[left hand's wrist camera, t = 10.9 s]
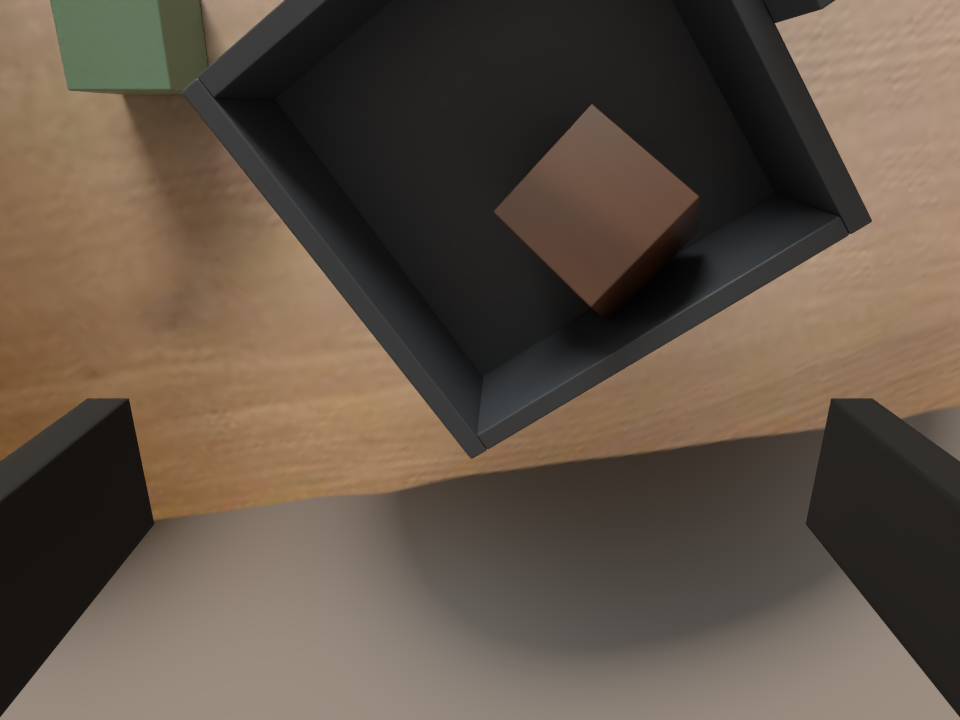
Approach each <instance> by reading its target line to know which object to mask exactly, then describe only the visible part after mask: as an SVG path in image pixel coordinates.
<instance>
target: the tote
mask: <svg viewBox="0 0 960 720" xmlns="http://www.w3.org/2000/svg"><path fill="white" fill-rule="evenodd" d="M833 1H835V0H284V1H283V2H282V3H281V4H280V5H278V6H277V7H276V8H275V9H274V10H273V11H272V12H270V13H269V14H268V15H267V16H266V17H265V18H264V19H263V20H261V21H260V22H259V23H258V24H257V25H256V26H255V27H253V28H252V29H251V30H250V31H249V32H248V33H247V34H245V35H244V36H243V37H242V38H241V39H240V40H239V41H237V42H236V43H235V44H234V45H233V46H232V47H231V48H229V49H228V50H227V51H226V52H225V53H224V54H223V55H222V56H220V57H219V58H218V59H217V60H216V61H215V62H214V63H212V64H211V65H210V66H209V67H208V68H207V69H206V70H204V71H203V72H202V73H201V74H200V75H199V76H198V77H199V78H196V79H195V80H194V81H193V82H191V83H190V84H189V85H188V86H187V87H186V88H185V89H183V91H182V93H183V95H184V96H185V97H186V99H187V100H188V101H189V103H190V104H191V105H192V106H193V108H194V109H195V110H196V111H197V113H198V114H199V115H200V116H201V118H202V119H203V120H204V122H205V123H206V124H207V125H208V127H209V128H210V129H211V130H212V132H213V133H214V134H215V135H216V137H217V138H218V139H219V141H220V142H221V143H222V144H223V146H224V147H225V148H226V149H227V151H228V152H229V153H230V154H231V156H232V157H233V158H234V160H235V161H236V162H237V163H238V165H239V166H240V167H241V168H242V170H243V171H244V172H245V173H246V175H247V176H248V177H249V179H250V180H251V181H252V182H253V184H254V185H255V186H256V187H257V189H258V190H259V191H260V192H261V194H262V195H263V196H264V197H265V199H266V200H267V201H268V203H269V204H270V205H271V206H272V208H273V209H274V210H275V211H276V213H277V214H278V215H279V216H280V218H281V219H282V220H283V222H284V223H285V224H286V225H287V227H288V228H289V229H290V230H291V232H292V233H293V234H294V235H295V237H296V238H297V239H298V241H299V242H300V243H301V244H302V246H303V247H304V248H305V249H306V251H307V252H308V253H309V254H310V256H311V257H312V258H313V260H314V261H315V262H316V263H317V265H318V266H319V267H320V268H321V270H322V271H323V272H324V273H325V275H326V276H327V277H328V279H329V280H330V281H331V282H332V284H333V285H334V286H335V287H336V289H337V290H338V291H339V292H340V294H341V295H342V296H343V297H344V299H345V300H346V301H347V303H348V304H349V305H350V306H351V308H352V309H353V310H354V311H355V313H356V314H357V315H358V316H359V318H360V319H361V320H362V322H363V323H364V324H365V325H366V327H367V328H368V329H369V330H370V332H371V333H372V334H373V335H374V337H375V338H376V339H377V341H378V342H379V343H380V344H381V346H382V347H383V348H384V349H385V351H386V352H387V353H388V354H389V356H390V357H391V358H392V360H393V361H394V362H395V363H396V365H397V366H398V367H399V368H400V370H401V371H402V372H403V373H404V375H405V376H406V377H407V379H408V380H409V381H410V382H411V384H412V385H413V386H414V387H415V389H416V390H417V391H418V392H419V394H420V395H421V396H422V397H423V399H424V400H425V401H426V403H427V404H428V405H429V406H430V408H431V409H432V410H433V411H434V413H435V414H436V415H437V416H438V418H439V419H440V420H441V422H442V423H443V424H444V425H445V427H446V428H447V429H448V430H449V432H450V433H451V434H452V435H453V437H454V438H455V439H456V441H457V442H458V443H459V444H460V446H461V447H462V448H463V449H464V451H465V452H466V453H467V454H468V456H469V457H470V458H471V459H472V458H474V457H476V456H478V455H479V454H481V453H483V452H484V451H486V450H487V449H489V448H491V447H493V446H495V445H496V444H498V443H500V442H501V441H503V440H505V439H506V438H508V437H510V436H511V435H513V434H515V433H516V432H518V431H520V430H521V429H523V428H525V427H527V426H528V425H530V424H532V423H533V422H535V421H537V420H538V419H540V418H542V417H543V416H545V415H547V414H548V413H550V412H552V411H554V410H555V409H557V408H559V407H560V406H562V405H564V404H565V403H567V402H569V401H570V400H572V399H574V398H575V397H577V396H579V395H580V394H582V393H584V392H586V391H587V390H589V389H591V388H592V387H594V386H596V385H597V384H599V383H601V382H602V381H604V380H606V379H607V378H609V377H611V376H612V375H614V374H616V373H618V372H619V371H621V370H623V369H624V368H626V367H628V366H629V365H631V364H633V363H634V362H636V361H638V360H639V359H641V358H643V357H644V356H646V355H648V354H650V353H651V352H653V351H655V350H656V349H658V348H660V347H661V346H663V345H665V344H666V343H668V342H670V341H671V340H673V339H675V338H676V337H678V336H680V335H682V334H683V333H685V332H687V331H688V330H690V329H692V328H693V327H695V326H697V325H698V324H700V323H702V322H703V321H705V320H707V319H709V318H710V317H712V316H714V315H715V314H717V313H719V312H720V311H722V310H724V309H725V308H727V307H729V306H730V305H732V304H734V303H735V302H737V301H739V300H741V299H742V298H744V297H746V296H747V295H749V294H751V293H752V292H754V291H756V290H757V289H759V288H761V287H762V286H764V285H766V284H767V283H769V282H771V281H773V280H774V279H776V278H778V277H779V276H781V275H783V274H784V273H786V272H788V271H789V270H791V269H793V268H794V267H796V266H798V265H799V264H801V263H803V262H805V261H806V260H808V259H810V258H811V257H813V256H815V255H816V254H818V253H820V252H821V251H823V250H825V249H826V248H828V247H830V246H831V245H833V244H835V243H837V242H838V241H840V240H842V239H843V238H845V237H847V236H848V235H849V234H852V233H854V232H855V231H857V230H859V229H860V228H862V227H864V226H866V225H867V224H869V223H871V222H872V220H871V218H870V216H869V214H868V212H867V209H866V207H865V205H864V203H863V201H862V199H861V197H860V195H859V193H858V191H857V189H856V187H855V185H854V183H853V181H852V179H851V177H850V175H849V173H848V171H847V169H846V167H845V165H844V163H843V161H842V159H841V157H840V155H839V153H838V151H837V149H836V147H835V145H834V143H833V141H832V139H831V137H830V135H829V133H828V131H827V129H826V126H825V124H824V122H823V120H822V118H821V116H820V114H819V112H818V110H817V108H816V106H815V104H814V102H813V100H812V98H811V96H810V94H809V92H808V90H807V88H806V86H805V84H804V82H803V80H802V78H801V76H800V74H799V72H798V70H797V68H796V66H795V64H794V62H793V60H792V58H791V56H790V54H789V52H788V50H787V48H786V46H785V43H784V41H783V39H782V37H781V35H780V33H779V31H778V29H777V27H776V25H775V23H777V22H780V21H784V20H787V19H790V18H794V17H797V16H800V15H804V14H807V13H810V12H814V11H817V10H820V9H823V8H824V7H826V6H827V5H829V4H830V3H832V2H833ZM592 104H593V105H594V106H595V107H596V108H598V109H599V110H600V111H601V112H602V113H603V114H605V115H606V116H607V117H608V118H609V119H610V120H612V121H613V122H614V123H615V124H616V125H617V126H618V127H620V128H621V129H622V130H623V131H624V132H625V133H627V134H628V135H629V136H630V137H631V138H632V139H634V140H635V141H636V142H637V143H638V144H639V145H641V146H642V147H643V148H644V149H645V150H646V151H647V152H649V153H650V154H651V155H652V156H653V157H654V158H656V159H657V160H658V161H659V162H660V163H661V164H663V165H664V166H665V167H666V168H667V169H668V170H669V171H671V172H672V173H673V174H674V175H675V176H676V177H678V178H679V179H680V180H681V181H682V182H683V183H685V184H686V185H687V186H688V187H689V188H690V189H692V190H693V191H694V192H695V193H696V194H697V195H698V196H699V222H698V233H697V234H696V235H695V236H694V237H693V238H692V239H691V240H690V241H689V242H688V243H687V244H686V245H685V246H684V247H683V248H682V249H681V250H680V251H679V252H678V253H677V254H676V255H675V256H674V257H673V258H672V259H671V260H670V261H669V262H668V263H667V264H666V265H665V266H664V267H663V268H662V269H661V270H660V271H659V272H658V273H657V274H656V275H655V276H654V277H653V278H652V279H651V280H650V281H649V282H648V283H647V284H646V285H645V286H644V287H643V288H642V289H641V290H640V291H639V292H638V293H637V294H636V295H635V296H634V297H633V298H632V299H631V300H630V301H629V302H628V303H627V304H626V305H625V306H624V307H623V308H622V309H621V310H620V311H619V312H618V313H617V314H616V315H615V316H614V317H613V318H612V319H611V320H610V321H606V320H605V319H604V318H603V317H602V316H600V315H599V314H598V313H597V312H596V311H594V310H593V309H592V308H591V307H590V306H589V305H588V304H587V303H586V302H584V301H583V300H582V299H581V298H580V297H579V296H578V295H577V294H576V293H575V292H574V291H573V290H572V289H571V288H570V287H569V286H568V285H567V284H566V283H565V282H564V281H563V280H562V279H561V278H560V277H559V276H558V275H557V274H556V273H555V272H554V271H553V270H552V269H551V268H550V267H548V266H547V265H546V264H545V263H544V262H543V261H542V260H541V259H540V258H539V257H538V256H537V255H536V254H535V253H534V252H533V251H532V250H531V249H530V248H529V247H528V246H527V245H526V244H525V243H524V242H523V241H522V240H521V239H520V238H519V237H518V236H517V235H516V234H515V233H514V232H512V231H511V230H510V229H509V228H508V227H507V226H506V225H505V224H504V223H503V222H502V221H501V220H500V219H499V218H498V217H497V216H496V215H495V214H494V213H493V211H494V210H495V209H496V208H497V207H498V206H499V205H500V204H501V203H502V201H503V200H504V199H505V198H506V197H507V196H508V195H509V194H510V193H511V192H512V191H513V189H514V188H515V187H516V186H517V185H518V184H519V183H520V182H521V181H522V180H523V179H524V177H525V176H526V175H527V174H528V173H529V172H530V171H531V170H532V169H533V168H534V167H535V165H536V164H537V163H538V162H539V161H540V160H541V159H542V158H543V157H544V156H545V154H546V153H547V152H548V151H549V150H550V149H551V148H552V147H553V146H554V145H555V144H556V142H557V141H558V140H559V139H560V138H561V137H562V136H563V135H564V134H565V133H566V132H567V130H568V129H569V128H570V127H571V126H572V125H573V124H574V123H575V122H576V121H577V120H578V118H579V117H580V116H581V115H582V114H583V113H584V112H585V111H586V110H587V109H588V108H589V106H590V105H592Z"/></svg>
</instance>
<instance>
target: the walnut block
mask: <svg viewBox="0 0 960 720" xmlns="http://www.w3.org/2000/svg"><path fill="white" fill-rule="evenodd" d="M493 213H494V214H495V215H496V216H497V217H498V218H499V219H500V220H501V221H502V222H503V223H504V224H505V225H506V226H507V227H508V228H509V229H510V230H511V231H512V232H514V233H515V234H516V235H517V236H518V237H519V238H520V239H521V240H522V241H523V242H524V243H525V244H526V245H527V246H528V247H529V248H530V249H531V250H532V251H533V252H534V253H535V254H536V255H537V256H538V257H539V258H540V259H541V260H542V261H543V262H544V263H545V264H546V265H547V266H548V267H550V268H551V269H552V270H553V271H554V272H555V273H556V274H557V275H558V276H559V277H560V278H561V279H562V280H563V281H564V282H565V283H566V284H567V285H568V286H569V287H570V288H571V289H572V290H573V291H574V292H575V293H576V294H577V295H578V296H579V297H580V298H581V299H582V300H583V301H584V302H586V303H587V304H588V305H589V306H590V307H591V308H592V309H593V310H594V311H596V312H597V313H598V314H599V315H600V316H602V317H603V318H604V319H605V320H606V321H610V320H611V319H612V318H613V317H614V316H615V315H616V314H617V313H618V312H619V311H620V310H621V309H622V308H623V307H624V306H625V305H626V304H627V303H628V302H629V301H630V300H631V299H632V298H633V297H634V296H635V295H636V294H637V293H638V292H639V291H640V290H641V289H642V288H643V287H644V286H645V285H646V284H647V283H648V282H649V281H650V280H651V279H652V278H653V277H654V276H655V275H656V274H657V273H658V272H659V271H660V270H661V269H662V268H663V267H664V266H665V265H666V264H667V263H668V262H669V261H670V260H671V259H672V258H673V257H674V256H675V255H676V254H677V253H678V252H679V251H680V250H681V249H682V248H683V247H684V246H685V245H686V244H687V243H688V242H689V241H690V240H691V239H692V238H693V237H694V236H695V235H696V234H697V233H698V222H699V196H698V195H697V194H696V193H695V192H694V191H693V190H692V189H690V188H689V187H688V186H687V185H686V184H685V183H683V182H682V181H681V180H680V179H679V178H678V177H676V176H675V175H674V174H673V173H672V172H671V171H669V170H668V169H667V168H666V167H665V166H664V165H663V164H661V163H660V162H659V161H658V160H657V159H656V158H654V157H653V156H652V155H651V154H650V153H649V152H647V151H646V150H645V149H644V148H643V147H642V146H641V145H639V144H638V143H637V142H636V141H635V140H634V139H632V138H631V137H630V136H629V135H628V134H627V133H625V132H624V131H623V130H622V129H621V128H620V127H618V126H617V125H616V124H615V123H614V122H613V121H612V120H610V119H609V118H608V117H607V116H606V115H605V114H603V113H602V112H601V111H600V110H599V109H598V108H596V107H595V106H594V105H593V104H592V105H590V106H589V108H588V109H587V110H586V111H585V112H584V113H583V114H582V115H581V116H580V117H579V118H578V120H577V121H576V122H575V123H574V124H573V125H572V126H571V127H570V128H569V129H568V130H567V132H566V133H565V134H564V135H563V136H562V137H561V138H560V139H559V140H558V141H557V142H556V144H555V145H554V146H553V147H552V148H551V149H550V150H549V151H548V152H547V153H546V154H545V156H544V157H543V158H542V159H541V160H540V161H539V162H538V163H537V164H536V165H535V167H534V168H533V169H532V170H531V171H530V172H529V173H528V174H527V175H526V176H525V177H524V179H523V180H522V181H521V182H520V183H519V184H518V185H517V186H516V187H515V188H514V189H513V191H512V192H511V193H510V194H509V195H508V196H507V197H506V198H505V199H504V200H503V201H502V203H501V204H500V205H499V206H498V207H497V208H496V209H495V210H494V211H493Z"/></svg>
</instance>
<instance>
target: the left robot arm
mask: <svg viewBox="0 0 960 720" xmlns="http://www.w3.org/2000/svg"><path fill="white" fill-rule="evenodd" d="M153 525H154V521H153V516H152V511H151V506H150V501H149V496H148V491H147V486H146V482H145V477H144V472H143V467H142V462H141V457H140V452H139V447H138V442H137V437H136V432H135V427H134V422H133V417H132V412H131V407H130V403H129V399H86V400H85V401H84V402H82V403H81V404H79V405H78V406H77V407H75V408H74V409H73V410H71V411H70V412H68V413H67V414H66V415H64V416H63V417H61V418H60V419H59V420H57V421H56V422H54V423H53V424H52V425H50V426H49V427H48V428H46V429H45V430H43V431H42V432H41V433H39V434H38V435H36V436H35V437H34V438H32V439H31V440H30V441H28V442H27V443H25V444H24V445H23V446H21V447H20V448H18V449H17V450H16V451H14V452H13V453H11V454H10V455H9V456H7V457H6V458H5V459H3V460H2V461H0V717H1V715H2V714H3V713H4V712H5V710H6V709H7V708H8V707H9V705H10V704H11V703H12V702H13V700H14V699H15V698H16V697H17V695H18V694H19V693H20V692H21V690H22V689H23V688H24V687H25V685H26V684H27V683H28V682H29V680H30V679H31V678H32V676H33V675H34V674H35V673H36V672H37V670H38V669H39V668H40V667H41V665H42V664H43V663H44V661H45V660H46V659H47V658H48V657H49V655H50V654H51V653H52V651H53V650H54V649H55V648H56V646H57V645H58V644H59V643H60V641H61V640H62V639H63V638H64V636H65V635H66V634H67V633H68V631H69V630H70V629H71V628H72V626H73V625H74V624H75V623H76V621H77V620H78V619H79V618H80V616H81V615H82V614H83V613H84V611H85V610H86V609H87V608H88V606H89V605H90V604H91V603H92V601H93V600H94V599H95V598H96V596H97V595H98V594H99V593H100V591H101V590H102V589H103V588H104V586H105V585H106V584H107V583H108V581H109V580H110V579H111V578H112V576H113V575H114V574H115V573H116V571H117V570H118V569H119V568H120V566H121V565H122V564H123V562H124V561H125V560H126V559H127V558H128V556H129V555H130V554H131V552H132V551H133V550H134V549H135V547H136V546H137V545H138V544H139V542H140V541H141V540H142V539H143V537H144V536H145V535H146V534H147V532H148V531H149V530H150V529H151V527H152V526H153ZM806 525H807V526H808V527H809V529H810V530H811V531H812V532H813V534H814V535H815V536H816V537H817V539H818V540H819V541H820V542H821V544H822V545H823V546H824V547H825V549H826V550H827V551H828V552H829V554H830V555H831V556H832V557H833V559H834V560H835V561H836V563H837V564H838V565H839V566H840V568H841V569H842V570H843V571H844V573H845V574H846V575H847V576H848V578H849V579H850V580H851V581H852V583H853V584H854V585H855V586H856V588H857V589H858V590H859V591H860V593H861V594H862V595H863V596H864V598H865V599H866V600H867V601H868V603H869V604H870V605H871V606H872V608H873V609H874V610H875V611H876V613H877V614H878V615H879V616H880V618H881V619H882V620H883V621H884V623H885V624H886V625H887V626H888V628H889V629H890V630H891V631H892V633H893V634H894V635H895V636H896V638H897V639H898V640H899V641H900V643H901V644H902V645H903V646H904V648H905V649H906V650H907V651H908V653H909V654H910V655H911V657H912V658H913V659H914V660H915V661H916V663H917V664H918V665H919V666H920V668H921V669H922V670H923V671H924V673H925V674H926V675H927V677H928V678H929V679H930V680H931V682H932V683H933V684H934V685H935V687H936V688H937V689H938V690H939V692H940V693H941V694H942V695H943V697H944V698H945V699H946V700H947V702H948V703H949V704H950V705H951V707H952V708H953V709H954V710H955V712H956V713H957V714H958V715H959V717H960V461H958V460H957V459H955V458H954V457H953V456H951V455H950V454H949V453H947V452H946V451H944V450H943V449H942V448H940V447H939V446H937V445H936V444H935V443H933V442H932V441H930V440H929V439H928V438H926V437H925V436H924V435H922V434H921V433H919V432H918V431H917V430H915V429H914V428H912V427H911V426H910V425H908V424H907V423H906V422H904V421H903V420H901V419H900V418H899V417H897V416H896V415H894V414H893V413H892V412H890V411H889V410H887V409H886V408H885V407H883V406H882V405H881V404H879V403H878V402H876V401H875V400H874V399H831V403H830V407H829V412H828V417H827V422H826V427H825V432H824V437H823V442H822V447H821V452H820V457H819V462H818V467H817V472H816V477H815V482H814V486H813V491H812V496H811V501H810V506H809V511H808V516H807V521H806Z"/></svg>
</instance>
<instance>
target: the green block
mask: <svg viewBox="0 0 960 720" xmlns="http://www.w3.org/2000/svg"><path fill="white" fill-rule="evenodd" d="M50 1H51V6H52V11H53V16H54V21H55V26H56V32H57V37H58V42H59V47H60V52H61V57H62V62H63V67H64V72H65V77H66V82H67V87H68V90H70V91H83V92H96V93H110V94H183V93H182V91H183V89H185V88H186V87H187V86H188V85H189V84H190V83H191V82H193V81H194V80H195V79H196V78H199V77H198V76H199V75H200V74H201V73H202V72H203V71H204V70H206V69H207V68H208V62H207V54H206V46H205V39H204V31H203V23H202V15H201V8H200V0H50Z"/></svg>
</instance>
